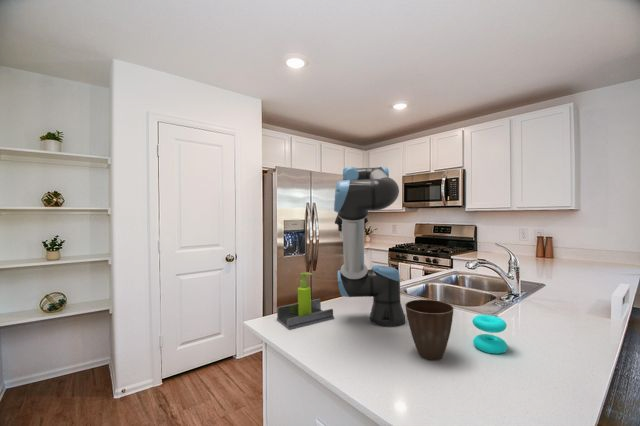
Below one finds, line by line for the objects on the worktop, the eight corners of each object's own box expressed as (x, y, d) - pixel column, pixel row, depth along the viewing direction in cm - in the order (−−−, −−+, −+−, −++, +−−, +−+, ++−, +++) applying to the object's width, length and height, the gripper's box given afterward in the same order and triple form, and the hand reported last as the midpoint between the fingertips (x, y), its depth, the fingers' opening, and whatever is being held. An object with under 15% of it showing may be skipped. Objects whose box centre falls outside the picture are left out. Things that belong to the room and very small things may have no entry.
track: (334, 318, 132) (333, 305, 132) (289, 329, 121) (288, 315, 121) (318, 310, 145) (318, 298, 145) (276, 319, 134) (276, 306, 134)
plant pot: (401, 344, 104) (400, 299, 104) (444, 344, 104) (442, 298, 104) (414, 366, 89) (412, 314, 89) (463, 366, 89) (461, 313, 89)
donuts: (473, 322, 97) (471, 312, 106) (474, 352, 97) (472, 340, 106) (508, 325, 93) (503, 315, 102) (510, 357, 93) (504, 344, 102)
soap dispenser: (312, 319, 130) (310, 274, 130) (297, 318, 131) (295, 274, 131) (315, 315, 135) (313, 271, 135) (300, 314, 137) (299, 271, 137)
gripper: (364, 197, 166) (366, 234, 166) (327, 197, 154) (328, 237, 154) (373, 196, 160) (374, 235, 160) (335, 196, 147) (336, 238, 147)
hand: (352, 236), depth 157 cm, fingers open, 13 cm apart
